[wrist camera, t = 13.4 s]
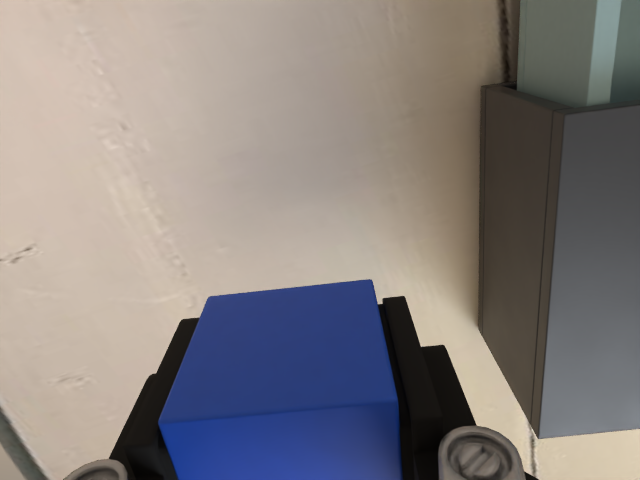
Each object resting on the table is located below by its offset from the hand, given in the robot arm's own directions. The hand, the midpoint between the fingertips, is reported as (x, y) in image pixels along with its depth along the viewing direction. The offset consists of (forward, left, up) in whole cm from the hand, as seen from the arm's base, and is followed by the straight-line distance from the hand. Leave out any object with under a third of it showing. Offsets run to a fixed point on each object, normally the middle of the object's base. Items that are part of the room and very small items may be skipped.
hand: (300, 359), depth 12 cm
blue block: (0, 0, 0) cm, 0 cm away
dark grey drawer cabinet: (+3, +15, -15) cm, 22 cm away
